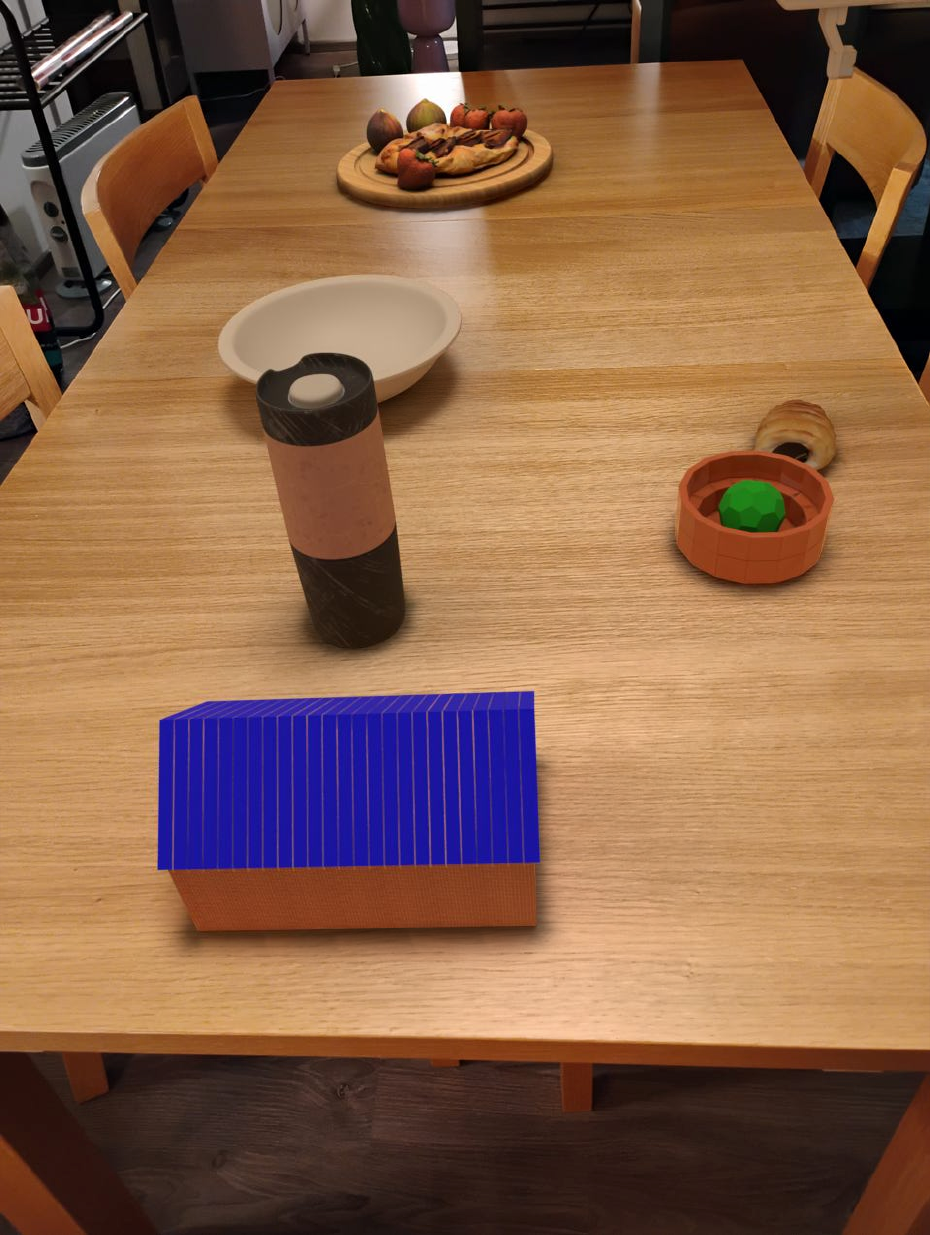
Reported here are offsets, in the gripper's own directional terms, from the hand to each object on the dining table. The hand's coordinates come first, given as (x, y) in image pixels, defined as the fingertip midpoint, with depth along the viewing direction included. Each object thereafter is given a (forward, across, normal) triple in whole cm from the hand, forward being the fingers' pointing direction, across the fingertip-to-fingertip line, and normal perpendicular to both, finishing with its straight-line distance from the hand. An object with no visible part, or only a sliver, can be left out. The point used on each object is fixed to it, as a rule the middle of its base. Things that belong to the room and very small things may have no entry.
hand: (908, 73), depth 70 cm
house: (+29, -36, -44) cm, 64 cm away
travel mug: (+29, -40, -24) cm, 55 cm away
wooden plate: (+29, -41, +73) cm, 89 cm away
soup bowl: (+29, -46, +11) cm, 56 cm away
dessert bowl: (+29, -10, -16) cm, 35 cm away
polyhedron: (+29, -10, -16) cm, 34 cm away
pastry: (+29, -4, -3) cm, 30 cm away
